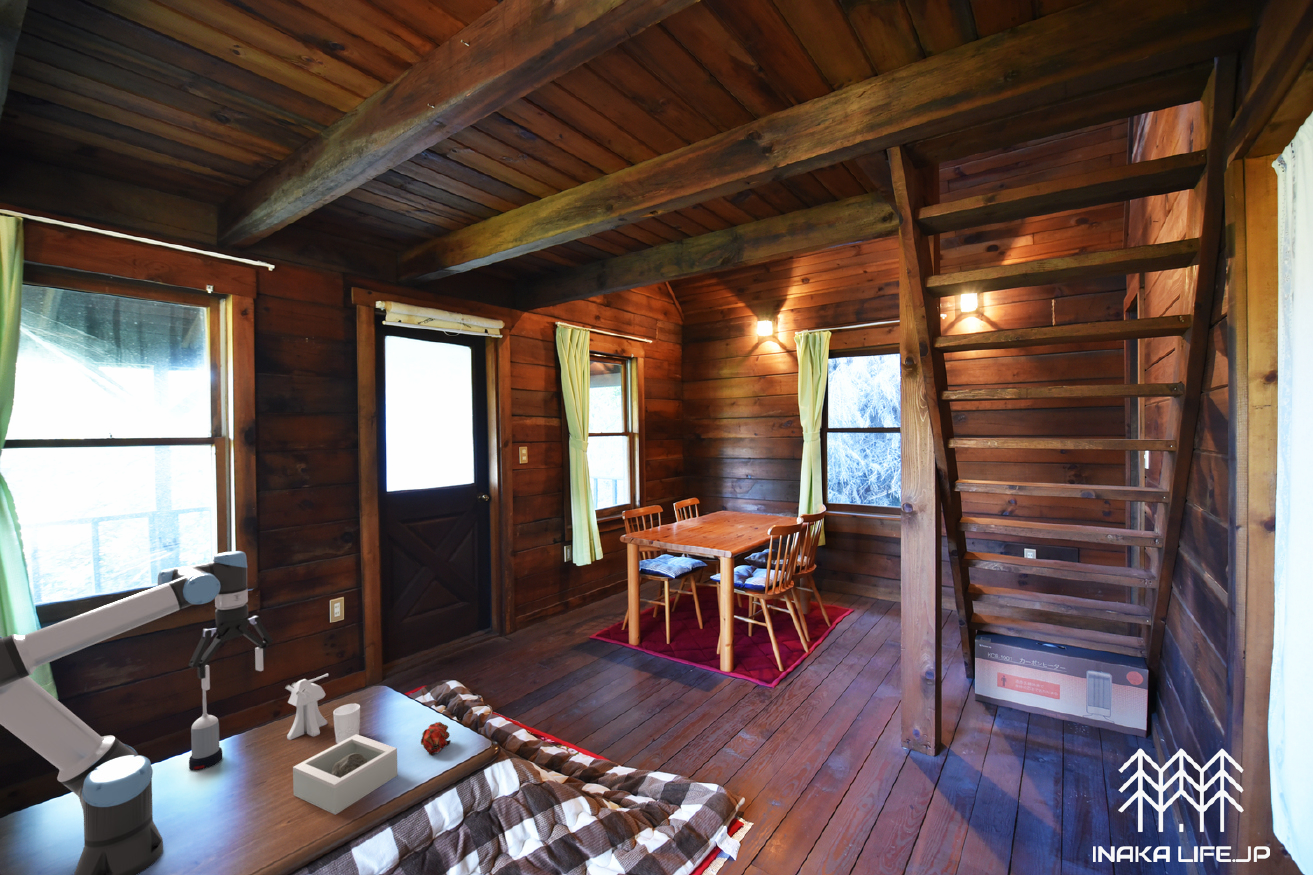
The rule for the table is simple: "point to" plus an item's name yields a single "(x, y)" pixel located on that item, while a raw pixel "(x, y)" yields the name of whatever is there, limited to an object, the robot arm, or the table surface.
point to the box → (340, 793)
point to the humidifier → (205, 741)
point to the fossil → (348, 764)
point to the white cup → (346, 721)
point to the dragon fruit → (435, 738)
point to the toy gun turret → (306, 707)
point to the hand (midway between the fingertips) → (233, 679)
